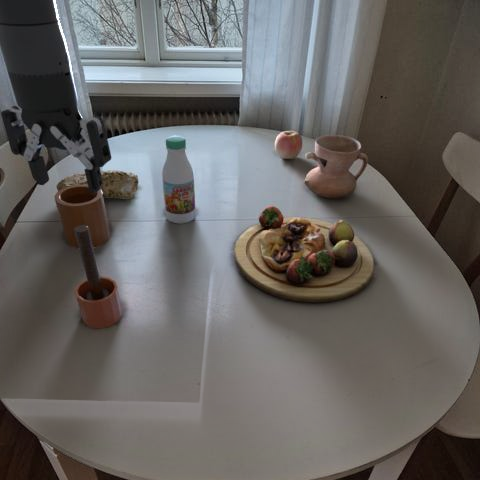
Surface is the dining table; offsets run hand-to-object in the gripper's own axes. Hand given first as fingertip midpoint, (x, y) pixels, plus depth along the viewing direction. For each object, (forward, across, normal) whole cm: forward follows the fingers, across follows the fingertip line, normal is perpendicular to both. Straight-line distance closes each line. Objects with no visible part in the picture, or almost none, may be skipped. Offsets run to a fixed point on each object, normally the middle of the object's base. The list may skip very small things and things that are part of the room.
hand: (69, 187), depth 64 cm
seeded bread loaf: (+27, -23, +44) cm, 57 cm away
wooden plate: (+27, +35, +31) cm, 54 cm away
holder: (+27, 0, +1) cm, 27 cm away
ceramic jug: (+27, +38, +67) cm, 82 cm away
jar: (+27, -16, +26) cm, 41 cm away
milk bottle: (+27, +1, +41) cm, 49 cm away
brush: (+26, 0, +1) cm, 27 cm away
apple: (+27, +22, +88) cm, 95 cm away
